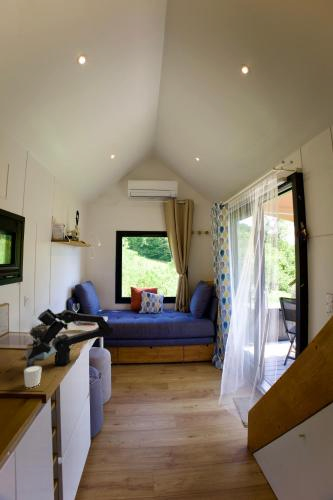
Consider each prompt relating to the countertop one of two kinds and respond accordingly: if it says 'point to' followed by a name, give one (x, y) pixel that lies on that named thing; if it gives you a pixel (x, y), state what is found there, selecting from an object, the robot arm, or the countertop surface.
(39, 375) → the white cup
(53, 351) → the pin tray
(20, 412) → the countertop surface
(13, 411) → the countertop surface
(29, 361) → the pin
